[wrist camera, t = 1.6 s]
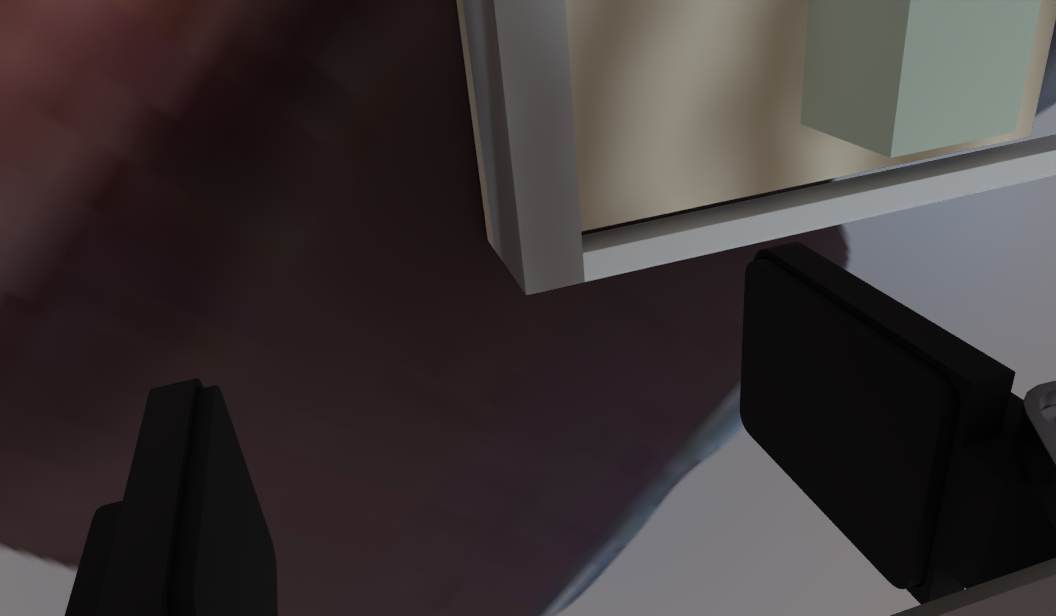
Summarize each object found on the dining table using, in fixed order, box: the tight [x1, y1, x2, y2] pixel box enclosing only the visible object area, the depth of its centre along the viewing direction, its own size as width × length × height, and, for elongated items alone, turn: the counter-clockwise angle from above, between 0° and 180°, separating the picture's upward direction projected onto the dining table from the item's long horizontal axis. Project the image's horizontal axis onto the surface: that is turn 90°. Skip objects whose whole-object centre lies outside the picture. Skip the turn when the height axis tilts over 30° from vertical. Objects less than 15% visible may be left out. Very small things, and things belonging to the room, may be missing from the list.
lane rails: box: [533, 135, 1056, 294], centre depth 29 cm, size 26×14×2 cm, turn 96°
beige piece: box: [456, 0, 1056, 295], centre depth 27 cm, size 24×10×5 cm, turn 96°
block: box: [800, 0, 1041, 158], centre depth 27 cm, size 5×5×5 cm
